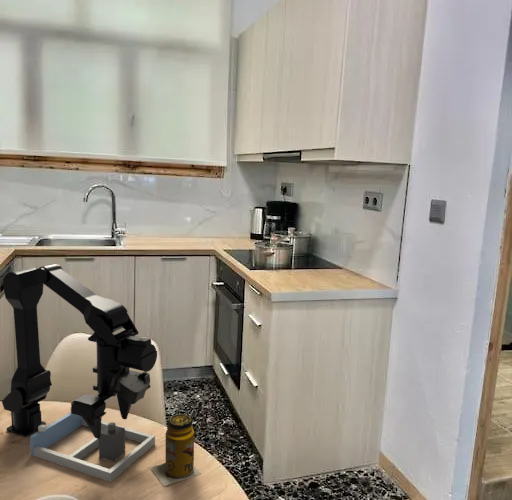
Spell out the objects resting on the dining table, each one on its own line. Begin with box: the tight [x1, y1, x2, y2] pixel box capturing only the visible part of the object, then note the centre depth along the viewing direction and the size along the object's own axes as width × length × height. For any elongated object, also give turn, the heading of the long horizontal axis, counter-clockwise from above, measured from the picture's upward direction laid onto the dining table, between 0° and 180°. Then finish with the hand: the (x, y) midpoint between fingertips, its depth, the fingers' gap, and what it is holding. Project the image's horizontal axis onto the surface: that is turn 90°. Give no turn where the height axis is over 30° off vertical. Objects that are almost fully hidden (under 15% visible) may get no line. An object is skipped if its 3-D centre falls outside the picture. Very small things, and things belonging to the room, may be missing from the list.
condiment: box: [150, 413, 201, 487], centre depth 108 cm, size 7×8×12 cm
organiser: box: [29, 411, 156, 483], centre depth 115 cm, size 22×16×6 cm
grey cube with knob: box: [98, 421, 126, 462], centre depth 113 cm, size 4×4×8 cm
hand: (111, 428), depth 113 cm, fingers open, 9 cm apart
